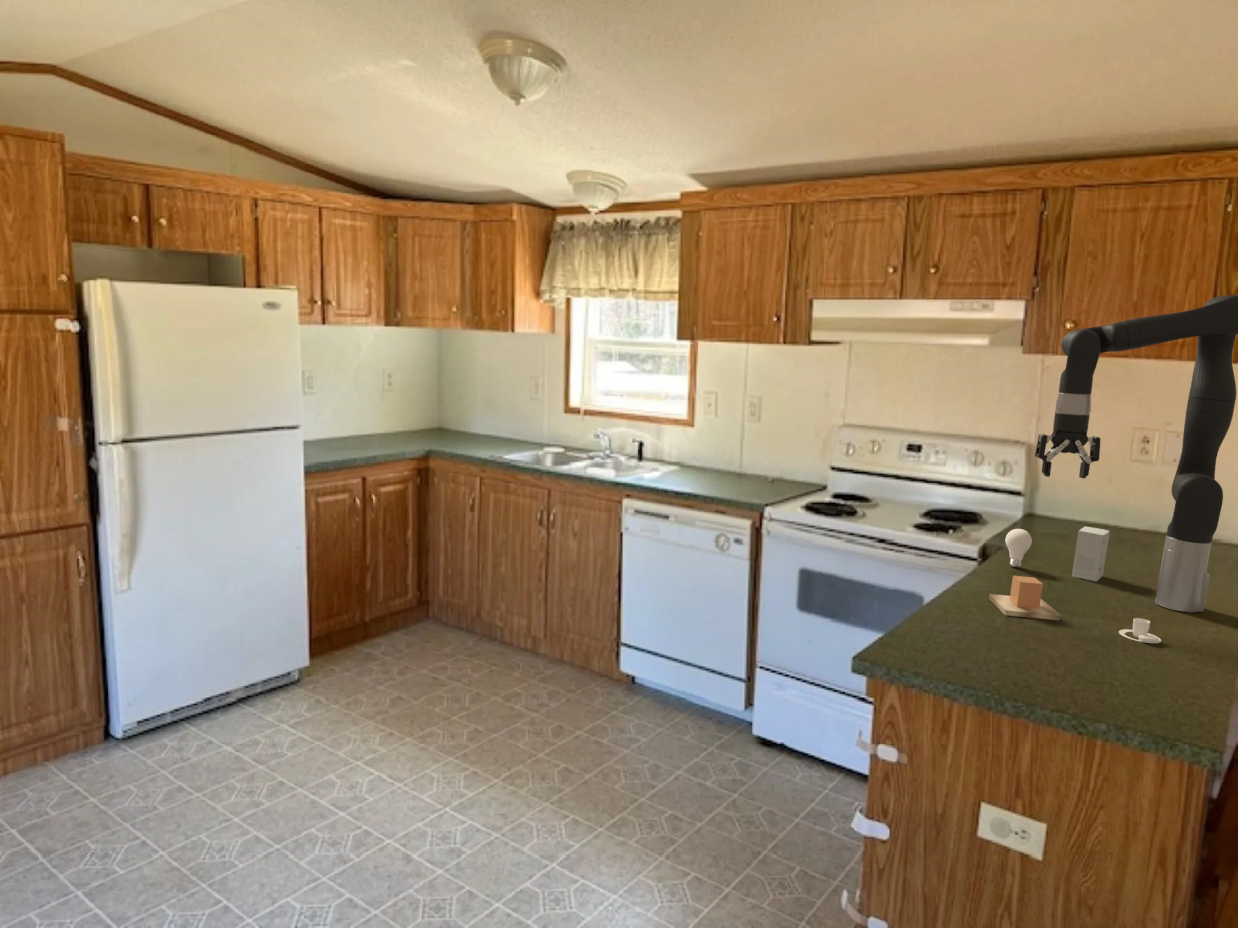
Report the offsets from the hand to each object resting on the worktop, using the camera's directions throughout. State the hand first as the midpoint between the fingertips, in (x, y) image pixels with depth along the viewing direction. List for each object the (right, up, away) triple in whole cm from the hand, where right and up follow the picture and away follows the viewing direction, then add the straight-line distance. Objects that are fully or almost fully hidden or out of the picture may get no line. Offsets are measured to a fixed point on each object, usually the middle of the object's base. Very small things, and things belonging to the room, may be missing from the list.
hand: (1064, 477), depth 207 cm
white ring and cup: (0, -35, -26) cm, 44 cm away
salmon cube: (-15, -30, -11) cm, 35 cm away
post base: (-15, -31, -11) cm, 36 cm away
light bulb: (0, -26, +26) cm, 37 cm away
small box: (+18, -28, +22) cm, 39 cm away
